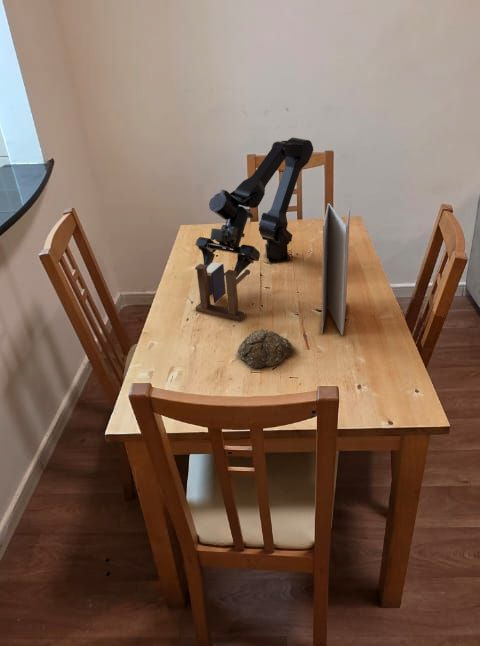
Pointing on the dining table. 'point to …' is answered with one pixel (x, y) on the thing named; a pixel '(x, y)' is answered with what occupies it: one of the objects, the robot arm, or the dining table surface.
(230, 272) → the peg stand
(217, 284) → the book
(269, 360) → the grey brown rock
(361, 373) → the dining table surface
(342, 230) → the brochure
